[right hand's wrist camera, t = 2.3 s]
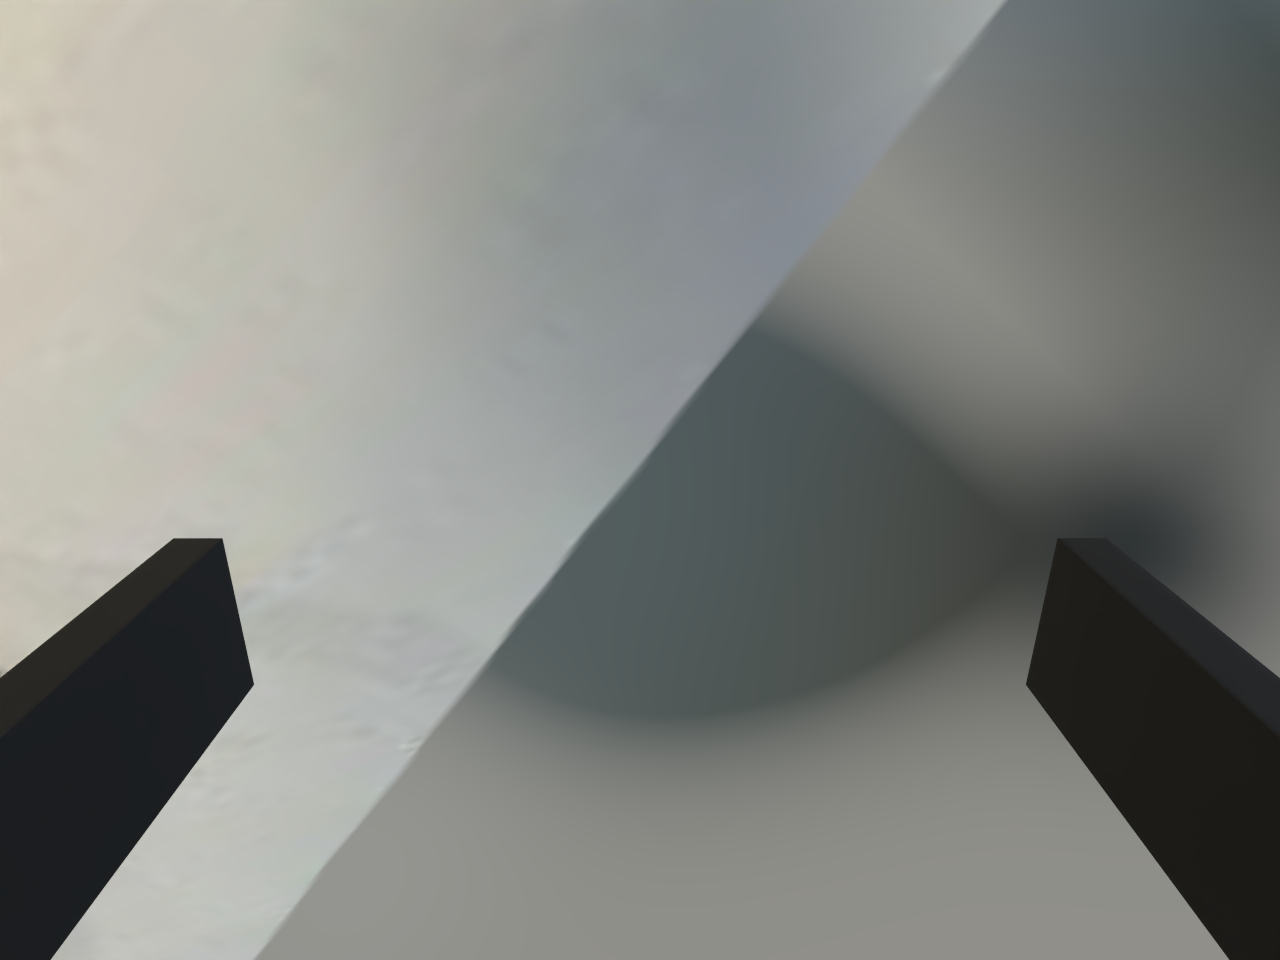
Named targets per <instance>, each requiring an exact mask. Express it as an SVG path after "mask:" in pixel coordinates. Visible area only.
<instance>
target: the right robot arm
mask: <svg viewBox="0 0 1280 960" xmlns="http://www.w3.org/2000/svg"><path fill="white" fill-rule="evenodd" d="M253 685H254V682H253V678H252V673H251V669H250V664H249V659H248V655H247V650H246V645H245V641H244V636H243V632H242V627H241V622H240V618H239V613H238V608H237V604H236V599H235V595H234V590H233V585H232V581H231V576H230V572H229V567H228V562H227V558H226V553H225V548H224V544H223V539H222V538H174V539H172V540H171V541H170V542H169V543H167V544H166V545H165V546H164V547H162V548H161V549H160V550H159V551H157V552H156V553H155V554H154V555H152V556H151V557H150V558H149V559H147V560H146V561H145V562H144V563H143V564H141V565H140V566H139V567H138V568H136V569H135V570H134V571H133V572H131V573H130V574H129V575H128V576H126V577H125V578H124V579H123V580H121V581H120V582H119V583H118V584H116V585H115V586H114V587H113V588H112V589H110V590H109V591H108V592H107V593H105V594H104V595H103V596H102V597H100V598H99V599H98V600H97V601H95V602H94V603H93V604H92V605H90V606H89V607H88V608H87V609H85V610H84V611H83V612H82V613H80V614H79V615H78V616H77V617H76V618H74V619H73V620H72V621H71V622H69V623H68V624H67V625H66V626H64V627H63V628H62V629H61V630H59V631H58V632H57V633H56V634H54V635H53V636H52V637H51V638H49V639H48V640H47V641H46V642H44V643H43V644H42V645H41V646H40V647H38V648H37V649H36V650H35V651H33V652H32V653H31V654H30V655H28V656H27V657H26V658H25V659H23V660H22V661H21V662H20V663H18V664H17V665H16V666H15V667H13V668H12V669H11V670H10V671H8V672H7V673H6V674H5V675H4V676H2V677H1V678H0V960H51V958H52V957H53V956H54V954H55V953H56V952H57V950H58V949H59V948H60V946H61V945H62V944H63V942H64V941H65V939H66V938H67V937H68V935H69V934H70V933H71V931H72V930H73V929H74V927H75V926H76V925H77V923H78V922H79V921H80V919H81V918H82V917H83V915H84V914H85V912H86V911H87V910H88V908H89V907H90V906H91V904H92V903H93V902H94V900H95V899H96V898H97V896H98V895H99V894H100V892H101V891H102V889H103V888H104V887H105V885H106V884H107V883H108V881H109V880H110V879H111V877H112V876H113V875H114V873H115V872H116V871H117V869H118V868H119V866H120V865H121V864H122V862H123V861H124V860H125V858H126V857H127V856H128V854H129V853H130V852H131V850H132V849H133V848H134V846H135V845H136V843H137V842H138V841H139V839H140V838H141V837H142V835H143V834H144V833H145V831H146V830H147V829H148V827H149V826H150V825H151V823H152V822H153V821H154V819H155V818H156V816H157V815H158V814H159V812H160V811H161V810H162V808H163V807H164V806H165V804H166V803H167V802H168V800H169V799H170V798H171V796H172V795H173V793H174V792H175V791H176V789H177V788H178V787H179V785H180V784H181V783H182V781H183V780H184V779H185V777H186V776H187V775H188V773H189V772H190V770H191V769H192V768H193V766H194V765H195V764H196V762H197V761H198V760H199V758H200V757H201V756H202V754H203V753H204V752H205V750H206V749H207V747H208V746H209V745H210V743H211V742H212V741H213V739H214V738H215V737H216V735H217V734H218V733H219V731H220V730H221V729H222V727H223V726H224V724H225V723H226V722H227V720H228V719H229V718H230V716H231V715H232V714H233V712H234V711H235V710H236V708H237V707H238V706H239V704H240V703H241V702H242V700H243V699H244V697H245V696H246V695H247V693H248V692H249V691H250V689H251V688H252V687H253ZM1026 685H1027V687H1028V688H1029V689H1030V691H1031V692H1032V693H1033V695H1034V696H1035V697H1036V699H1037V700H1038V701H1039V703H1040V704H1041V706H1042V707H1043V708H1044V710H1045V711H1046V712H1047V714H1048V715H1049V716H1050V718H1051V719H1052V720H1053V722H1054V723H1055V724H1056V726H1057V727H1058V729H1059V730H1060V731H1061V733H1062V734H1063V735H1064V737H1065V738H1066V739H1067V741H1068V742H1069V743H1070V745H1071V746H1072V747H1073V749H1074V750H1075V751H1076V753H1077V754H1078V756H1079V757H1080V758H1081V760H1082V761H1083V762H1084V764H1085V765H1086V766H1087V768H1088V769H1089V770H1090V772H1091V773H1092V774H1093V776H1094V777H1095V778H1096V780H1097V781H1098V783H1099V784H1100V785H1101V787H1102V788H1103V789H1104V791H1105V792H1106V793H1107V795H1108V796H1109V798H1110V799H1111V800H1112V802H1113V803H1114V804H1115V806H1116V807H1117V808H1118V810H1119V811H1120V812H1121V814H1122V815H1123V816H1124V818H1125V819H1126V821H1127V822H1128V823H1129V825H1130V826H1131V827H1132V829H1133V830H1134V831H1135V833H1136V834H1137V835H1138V837H1139V838H1140V839H1141V841H1142V842H1143V843H1144V845H1145V846H1146V847H1147V849H1148V850H1149V852H1150V853H1151V854H1152V856H1153V857H1154V858H1155V860H1156V861H1157V862H1158V864H1159V865H1160V866H1161V868H1162V869H1163V871H1164V872H1165V873H1166V875H1167V876H1168V877H1169V879H1170V880H1171V881H1172V883H1173V884H1174V885H1175V887H1176V888H1177V889H1178V891H1179V892H1180V894H1181V895H1182V896H1183V898H1184V899H1185V900H1186V902H1187V903H1188V904H1189V906H1190V907H1191V908H1192V910H1193V911H1194V912H1195V914H1196V915H1197V916H1198V918H1199V919H1200V921H1201V922H1202V923H1203V925H1204V926H1205V927H1206V929H1207V930H1208V931H1209V933H1210V934H1211V935H1212V937H1213V938H1214V939H1215V941H1216V942H1217V943H1218V945H1219V946H1220V948H1221V949H1222V950H1223V952H1224V953H1225V954H1226V956H1227V957H1228V958H1229V960H1280V678H1279V677H1278V676H1276V675H1275V674H1274V673H1273V672H1272V671H1270V670H1269V669H1268V668H1267V667H1265V666H1264V665H1263V664H1262V663H1260V662H1259V661H1258V660H1257V659H1255V658H1254V657H1253V656H1252V655H1250V654H1249V653H1248V652H1247V651H1245V650H1244V649H1243V648H1242V647H1240V646H1239V645H1238V644H1237V643H1236V642H1234V641H1233V640H1232V639H1231V638H1229V637H1228V636H1227V635H1226V634H1224V633H1223V632H1222V631H1221V630H1219V629H1218V628H1217V627H1216V626H1214V625H1213V624H1212V623H1211V622H1209V621H1208V620H1207V619H1206V618H1204V617H1203V616H1202V615H1201V614H1200V613H1198V612H1197V611H1196V610H1195V609H1193V608H1192V607H1191V606H1190V605H1188V604H1187V603H1186V602H1185V601H1183V600H1182V599H1181V598H1180V597H1178V596H1177V595H1176V594H1175V593H1173V592H1172V591H1171V590H1170V589H1168V588H1167V587H1166V586H1165V585H1164V584H1162V583H1161V582H1160V581H1159V580H1157V579H1156V578H1155V577H1154V576H1152V575H1151V574H1150V573H1149V572H1147V571H1146V570H1145V569H1144V568H1142V567H1141V566H1140V565H1139V564H1137V563H1136V562H1135V561H1134V560H1132V559H1131V558H1130V557H1129V556H1128V555H1126V554H1125V553H1124V552H1123V551H1121V550H1120V549H1119V548H1118V547H1116V546H1115V545H1114V544H1113V543H1111V542H1110V541H1109V540H1108V539H1106V538H1058V539H1057V544H1056V548H1055V553H1054V558H1053V562H1052V567H1051V572H1050V576H1049V581H1048V586H1047V590H1046V595H1045V600H1044V604H1043V609H1042V613H1041V618H1040V622H1039V627H1038V632H1037V636H1036V641H1035V645H1034V650H1033V655H1032V659H1031V664H1030V669H1029V673H1028V678H1027V682H1026Z"/></svg>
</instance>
